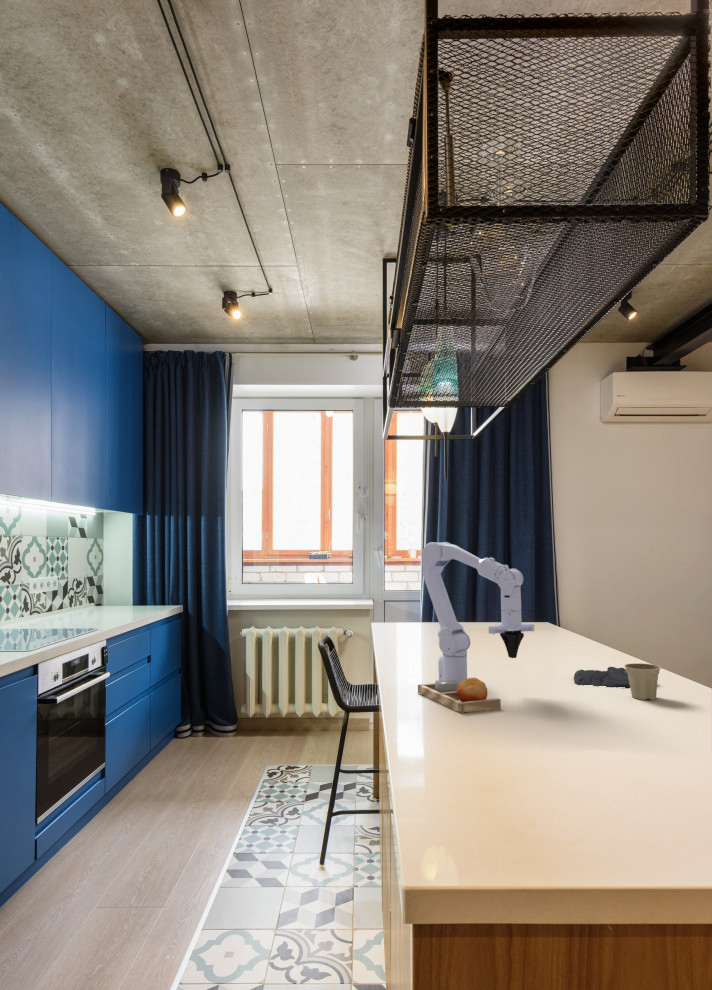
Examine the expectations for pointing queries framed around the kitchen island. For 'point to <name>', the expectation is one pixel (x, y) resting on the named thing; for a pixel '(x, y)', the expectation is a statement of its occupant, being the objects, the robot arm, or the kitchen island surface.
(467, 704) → the wooden tray
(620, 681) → the grey elongated lump
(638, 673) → the flower pot
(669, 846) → the kitchen island surface
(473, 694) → the fruit
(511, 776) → the kitchen island surface
